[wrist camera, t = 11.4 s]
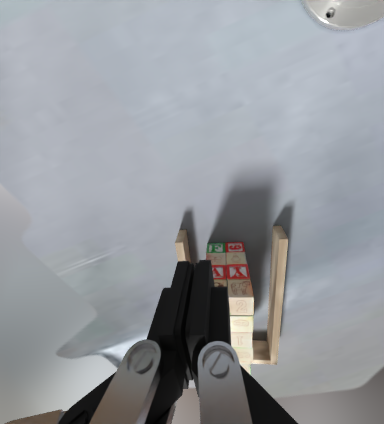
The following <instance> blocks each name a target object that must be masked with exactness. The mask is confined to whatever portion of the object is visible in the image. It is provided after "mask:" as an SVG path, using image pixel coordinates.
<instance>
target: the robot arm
mask: <svg viewBox="0 0 384 424" xmlns="http://www.w3.org/2000/svg"><path fill="white" fill-rule="evenodd" d="M301 2H302V4H303V7H304V8H305V10H306V11H307V12H308V14H309V15H310V17H311V18H313V19H314V20H315V21H316V22H317V23H319V24H320V25H322V26H324V27H327V28H329V29H333V30H339V31H345V30H354V29H358V28H362V27H365V26H367V25H370V24H372V23H374V22H376V21H378V20H380V19H381V18H383V17H384V0H301ZM326 14H329V18H327V17H326ZM193 379H194V382H195V386H196V390H197V394H198V397H199V402H200V424H298V423H297V422H296V421H295V420H294V419H293V418H292V417H291V416H290V415H289V414H288V413H287V412H286V411H285V410H284V409H283V408H282V407H281V406H280V405H279V404H278V403H277V402H276V401H275V400H274V399H273V398H272V397H271V396H270V395H269V394H268V393H267V392H266V390H265V389H264V388H263V387H262V386H261V385H260V384H259V383H258V382H257V381H256V380H255V379H254V378H253V377H252V376H251V375H250V374H249V373H248V372H247V371H246V370H245V369H244V368H243V367H242V366H241V365H240V363H239V358H238V356H237V353H236V351H235V350H234V349H233V347H232V346H231V327H230V307H229V296H228V287H227V286H223V287H215V285H214V278H213V271H212V264H211V260H200V262H199V263H196V265H195V269H194V264H193V263H191V264H190V262H189V261H178V263H177V267H176V270H175V274H174V277H173V281H172V285H171V288H164V289H163V290H162V293H161V296H160V299H159V302H158V306H157V309H156V312H155V315H154V318H153V321H152V324H151V327H150V330H149V334H148V337H147V340H142V341H139V342H137V343H135V344H134V345H133V346H132V347H131V348H130V349H129V350H128V351H127V353H126V354H125V356H124V358H123V360H122V362H121V364H120V366H119V368H118V369H117V371H116V372H115V373H114V374H113V375H111V376H110V377H109V378H108V379H106V380H105V381H104V382H103V383H101V384H100V385H99V386H97V387H96V388H95V389H93V390H92V391H91V392H90V393H88V394H87V395H86V396H85V397H83V398H82V399H81V400H79V401H78V402H77V403H76V404H74V405H73V406H72V407H71V408H70V409H69V410H68V411H64V412H63V410H56V411H52V412H47V413H43V414H39V415H34V416H30V417H25V418H21V419H17V420H13V421H10V422H7V423H5V424H171V423H172V420H173V416H174V412H175V408H176V401H177V400H178V398H180V397H181V396H182V392H183V389H188V385H189V380H193Z"/></svg>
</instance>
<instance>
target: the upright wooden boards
mask: <svg viewBox="0 0 384 424" xmlns="http://www.w3.org/2000/svg"><path fill="white" fill-rule="evenodd" d="M175 245H176V251H177V257H178V261H189V262H190V264H191V259H190V252H189V245H188V238H187V230H179V233H178V236H177V239H176V242H175ZM287 247H288V238H287V236H286V234H285V232H284V231H283V229H282V227H281V226H273V232H272V251H271V270H270V288H269V307H268V325H267V341H256V340H252V344H253V362H251V363H255V364H274V365H277V358H278V347H279V336H280V325H281V314H282V303H283V292H284V281H285V270H286V258H287Z"/></svg>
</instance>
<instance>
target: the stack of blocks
mask: <svg viewBox="0 0 384 424" xmlns="http://www.w3.org/2000/svg"><path fill="white" fill-rule="evenodd" d="M245 254H246V253H245V248H244V243H243V242H229V243H208V244H207V251H206V260H211V264H212V271H213V278H214V285H215V287H223V286H227V287H228V296H229V307H230V327H231V346H232V347H233V349H234V350H235V351H236V353H237V356H238V358H239V363H240V365H241V366H242V367H243V368H244V369H245V370H246V371H247V372H248V373H249V374H250V375H251V362H253V344H252V332H253V315H254V295H253V290H252V285H251V281H250V274H249V269H248V265H247V260H246V255H245Z"/></svg>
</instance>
